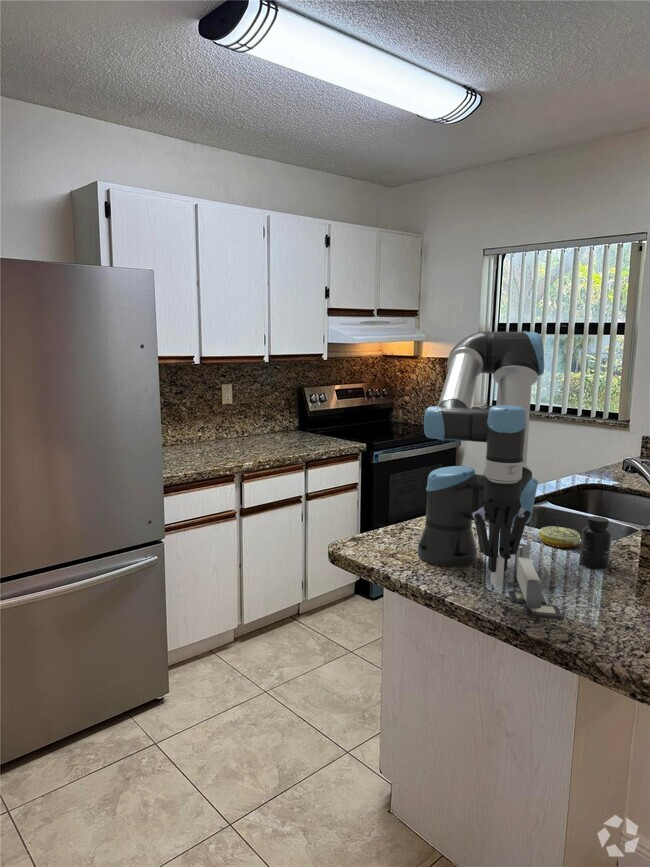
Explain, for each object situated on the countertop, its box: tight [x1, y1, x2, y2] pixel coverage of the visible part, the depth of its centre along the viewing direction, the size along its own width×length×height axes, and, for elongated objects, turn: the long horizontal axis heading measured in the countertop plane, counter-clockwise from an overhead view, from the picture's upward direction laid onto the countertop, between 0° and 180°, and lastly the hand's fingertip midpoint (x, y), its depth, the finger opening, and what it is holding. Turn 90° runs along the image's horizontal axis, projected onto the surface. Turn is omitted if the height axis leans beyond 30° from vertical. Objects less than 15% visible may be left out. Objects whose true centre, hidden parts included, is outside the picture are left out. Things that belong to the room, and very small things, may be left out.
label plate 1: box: [508, 590, 547, 605], centre depth 132 cm, size 7×5×1 cm
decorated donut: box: [538, 525, 582, 548], centre depth 168 cm, size 10×11×4 cm
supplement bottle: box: [579, 515, 613, 570], centre depth 151 cm, size 7×7×12 cm
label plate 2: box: [522, 603, 564, 620], centre depth 126 cm, size 7×5×1 cm
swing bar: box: [516, 557, 544, 609], centre depth 130 cm, size 16×3×5 cm, turn 171°
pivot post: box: [506, 543, 530, 588], centre depth 140 cm, size 5×5×9 cm
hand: (496, 585), depth 131 cm, fingers closed
